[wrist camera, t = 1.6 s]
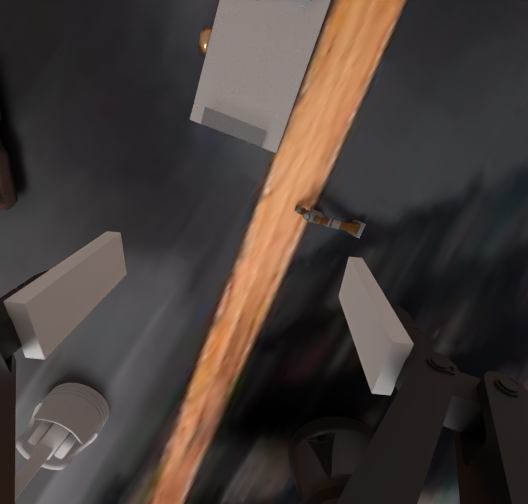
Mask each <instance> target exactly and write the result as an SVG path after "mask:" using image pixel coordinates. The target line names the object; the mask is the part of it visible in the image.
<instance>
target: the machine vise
mask: <svg viewBox="0 0 528 504" xmlns="http://www.w3.org/2000/svg"><path fill="white" fill-rule="evenodd" d="M330 1H331V0H220V1H219V5H218V9H217V13H216V17H215V21H214V25H213V28H211V27H208V26H204V27H203V29H202V32H201V35H200V40H199V54H200V56H202V57H205V61H204V65H203V69H202V73H201V77H200V81H199V85H198V89H197V93H196V97H195V101H194V105H193V109H192V113H191V117H190V120H192V121H194V122H196V123H198V124H201V125H203V126H206V127H208V128H211V129H213V130H216V131H219V132H221V133H224V134H226V135H229V136H231V137H234V138H237V139H239V140H242V141H244V142H247V143H249V144H252V145H255V146H257V147H260V148H262V149H265V150H267V151H270V152H273V153H275V154H276V152H277V150H278V147H279V144H280V141H281V138H282V136H283V133H284V130H285V127H286V124H287V122H288V119H289V116H290V113H291V110H292V108H293V105H294V102H295V99H296V96H297V94H298V91H299V88H300V85H301V82H302V80H303V77H304V74H305V71H306V69H307V66H308V63H309V60H310V57H311V55H312V52H313V49H314V46H315V43H316V41H317V38H318V35H319V32H320V29H321V27H322V24H323V21H324V18H325V15H326V13H327V10H328V7H329V4H330Z"/></svg>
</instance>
